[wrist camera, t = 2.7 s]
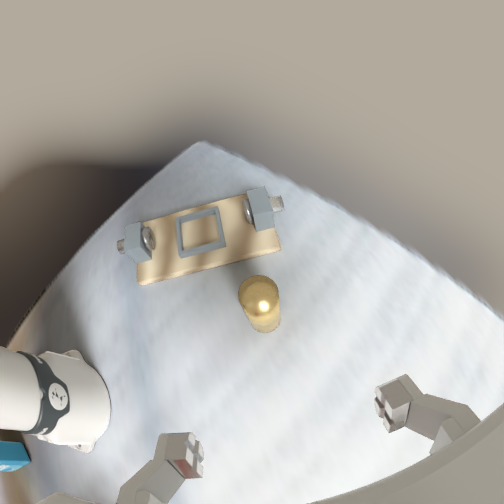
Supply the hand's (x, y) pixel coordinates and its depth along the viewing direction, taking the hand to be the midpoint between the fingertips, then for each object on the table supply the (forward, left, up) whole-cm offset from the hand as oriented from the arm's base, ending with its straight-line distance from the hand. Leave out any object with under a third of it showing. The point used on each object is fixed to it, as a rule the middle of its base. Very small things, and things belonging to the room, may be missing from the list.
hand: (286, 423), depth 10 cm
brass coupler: (0, +12, -26) cm, 29 cm away
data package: (-59, -12, -26) cm, 66 cm away
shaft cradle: (-7, +28, -26) cm, 39 cm away
